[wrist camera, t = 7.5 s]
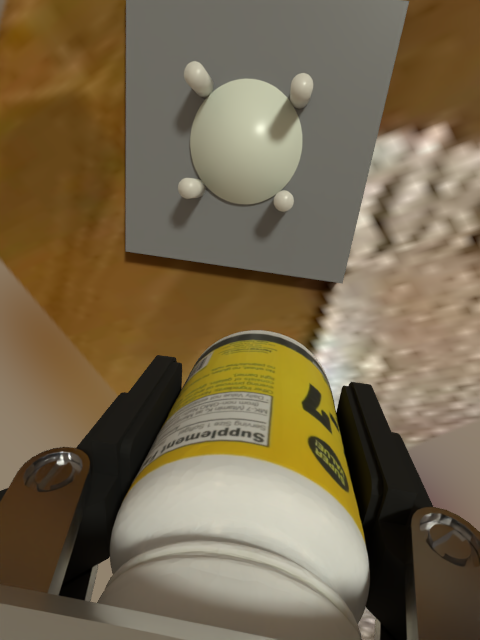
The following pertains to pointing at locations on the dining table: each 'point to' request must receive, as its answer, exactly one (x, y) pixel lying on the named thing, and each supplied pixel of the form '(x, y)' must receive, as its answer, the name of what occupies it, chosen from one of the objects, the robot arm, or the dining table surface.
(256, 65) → the pin tray
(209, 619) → the supplement bottle
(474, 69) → the dining table surface
